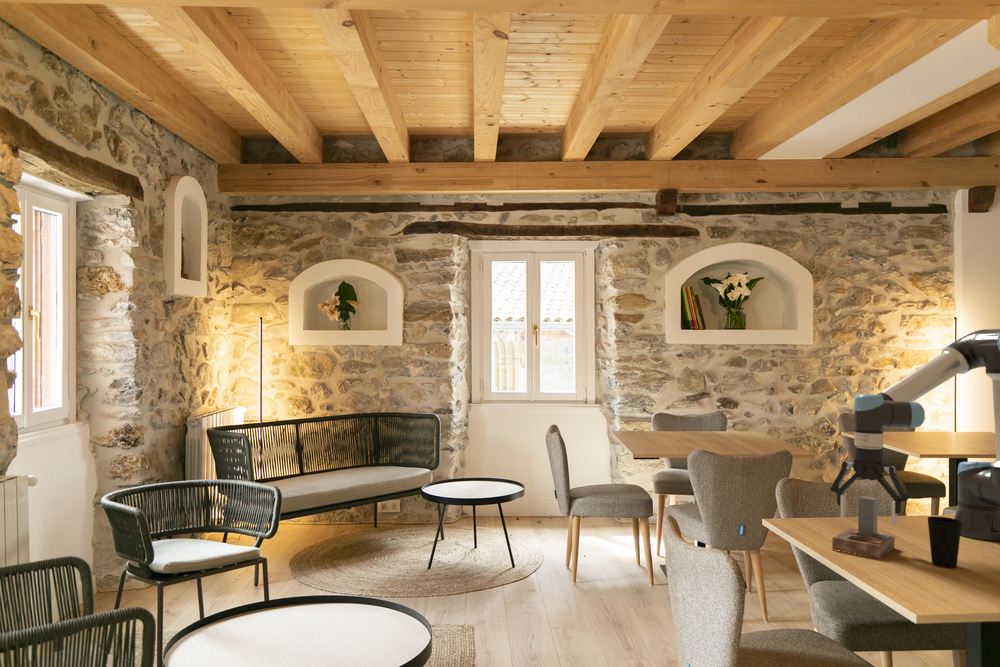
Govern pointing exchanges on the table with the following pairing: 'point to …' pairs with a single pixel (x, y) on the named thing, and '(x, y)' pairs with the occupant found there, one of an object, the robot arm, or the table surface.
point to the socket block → (863, 543)
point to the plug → (867, 516)
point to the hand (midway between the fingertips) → (868, 520)
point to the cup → (944, 541)
